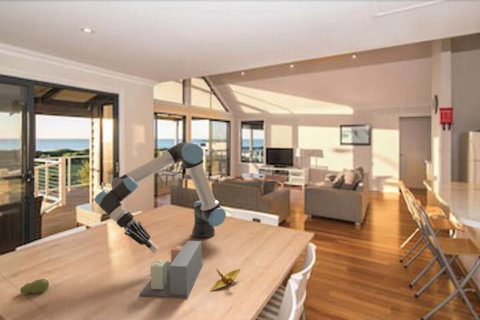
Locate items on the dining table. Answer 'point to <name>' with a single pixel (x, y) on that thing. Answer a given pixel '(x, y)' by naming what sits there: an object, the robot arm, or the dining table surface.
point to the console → (179, 273)
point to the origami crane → (225, 279)
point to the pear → (35, 286)
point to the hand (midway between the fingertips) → (156, 250)
